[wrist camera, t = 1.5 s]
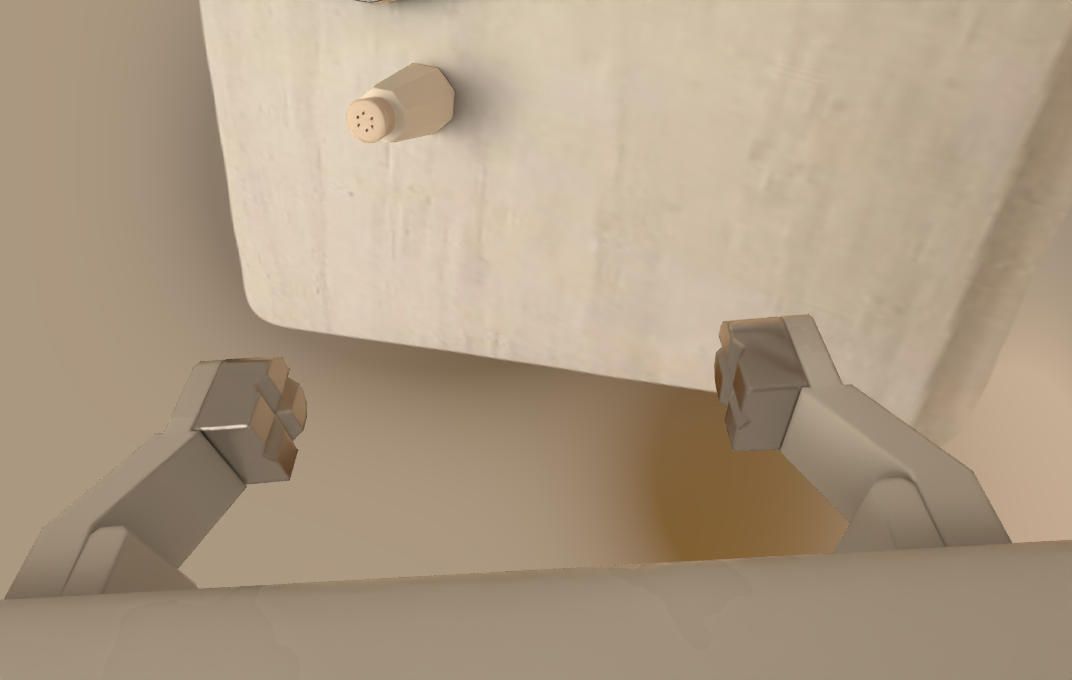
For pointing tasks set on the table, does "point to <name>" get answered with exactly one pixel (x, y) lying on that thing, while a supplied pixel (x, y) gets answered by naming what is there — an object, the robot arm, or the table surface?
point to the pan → (378, 1)
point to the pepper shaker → (403, 106)
